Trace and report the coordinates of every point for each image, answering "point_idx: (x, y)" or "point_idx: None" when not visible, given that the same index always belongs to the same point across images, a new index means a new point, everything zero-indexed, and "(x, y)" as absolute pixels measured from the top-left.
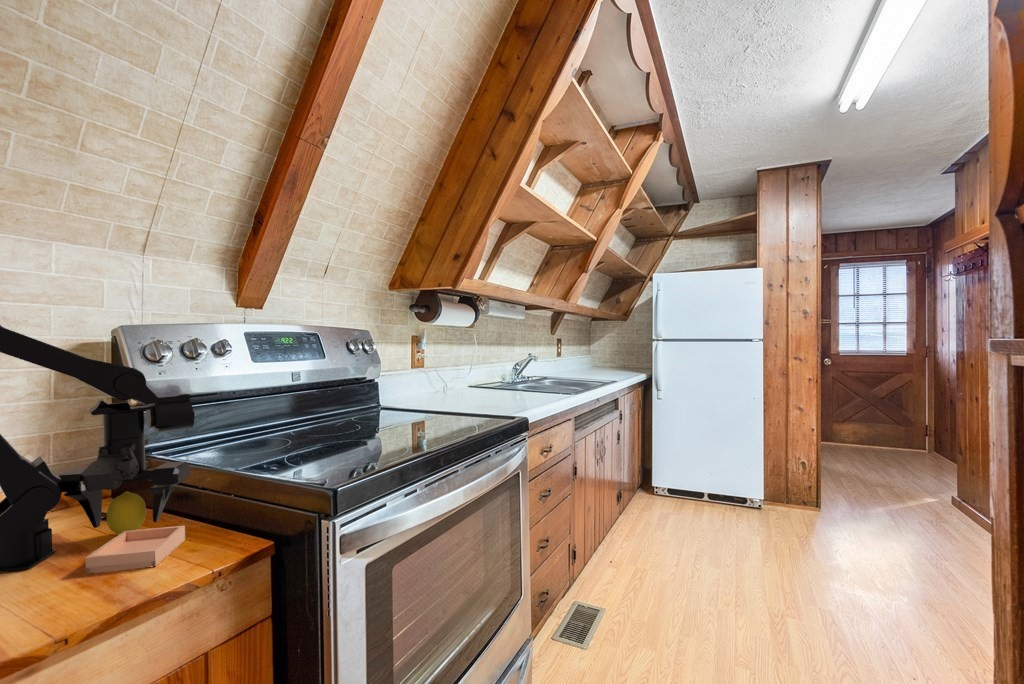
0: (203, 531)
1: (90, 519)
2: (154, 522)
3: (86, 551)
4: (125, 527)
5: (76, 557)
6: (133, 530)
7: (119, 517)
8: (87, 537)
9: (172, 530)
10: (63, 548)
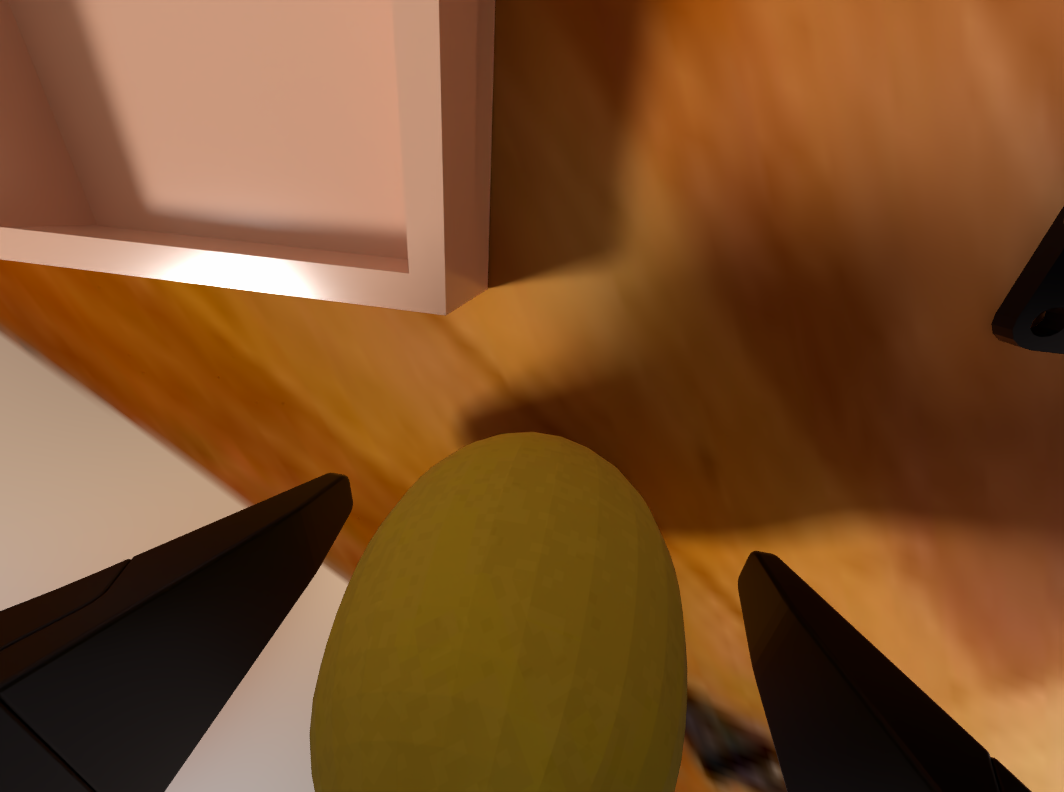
0: (135, 366)
1: (842, 624)
2: (341, 475)
3: (738, 273)
4: (496, 435)
5: (790, 138)
6: (360, 292)
7: (506, 489)
8: (794, 552)
9: (77, 230)
10: (930, 415)
